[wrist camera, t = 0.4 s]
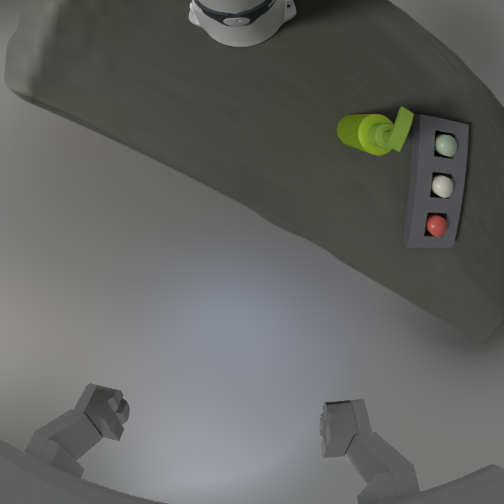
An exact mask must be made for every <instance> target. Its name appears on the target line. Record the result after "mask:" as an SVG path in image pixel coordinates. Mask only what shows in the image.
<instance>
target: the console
mask: <svg viewBox="0 0 504 504" xmlns="http://www.w3.org/2000/svg"><path fill="white" fill-rule="evenodd" d="M435 130H436V131H441V132H446V133H447V135H450V136H452V137H453V138H454V139H455V140H456V143H457V150H456V153H455V154H454V155H453V156H450V157H449V156H446V157H444V156H437V155H434V146H435ZM468 133H469V125H468V124H464V123H460V122H455V121H451V120H447V119H442V118H437V117H432V116H427V115H422V114H414V116H413V129H412V154H411V169H410V181H409V191H408V200H407V208H406V216H405V223H404V230H403V237H402V243H403V244H404V245H405V246H406V247H407V248H453V246H454V242H455V237H456V232H457V227H458V222H459V216H460V211H461V204H462V198H463V191H464V183H465V174H466V164H467V151H468ZM433 172H438V173H445V175H444V176H445V177H448V178H449V179H451V181H452V183H453V191H452V193H451V195H450V196H449V197H447V198H443V197H441V196H439V195H437V194H430V192H431V183H432V173H433ZM428 212H431V213H440V214H439V216H441V217H442V218H444V219H445V220H446V222H447V230H446V232H445V233H444V234H443V235H442V236H440V237H435V236H434V235H432V234H431V233H430V232H429V231H425V227H426V221H427V214H428Z"/></svg>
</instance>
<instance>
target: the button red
mask: <svg viewBox="0 0 504 504" xmlns="http://www.w3.org/2000/svg"><path fill="white" fill-rule="evenodd" d="M425 228H426V229H427V230H428V231H429V232H430V233H431V234H432V235H434V236H435V237H440V236H442V235H443V234H444V233H445V232H446V230H447V222H446V220H445V219H444V218H442V217H441V216H439V215H438V214H436V213H431V214H429V215H428V216H427V221H426V227H425Z"/></svg>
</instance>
